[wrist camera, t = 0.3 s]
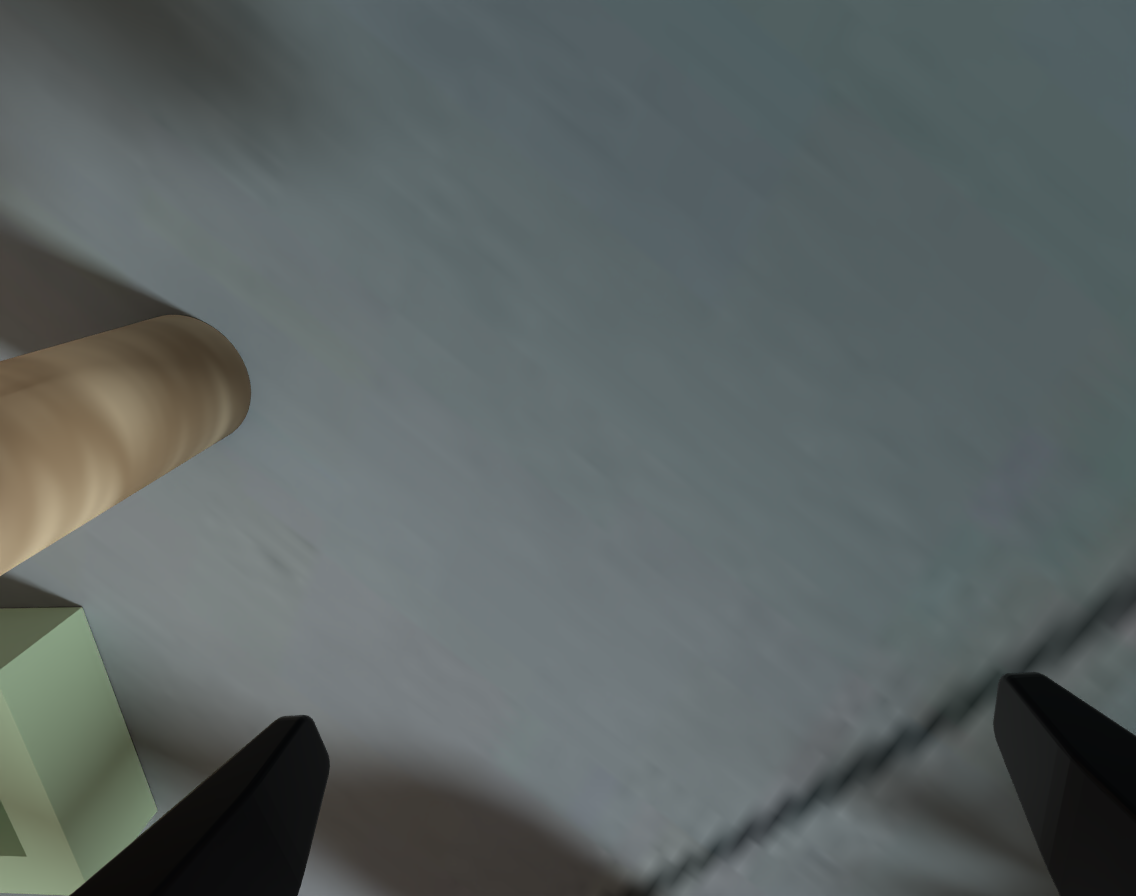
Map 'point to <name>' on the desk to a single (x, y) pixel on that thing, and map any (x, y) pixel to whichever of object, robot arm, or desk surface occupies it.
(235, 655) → the desk surface
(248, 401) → the beige ridged cylinder
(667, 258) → the desk surface
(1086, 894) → the robot arm
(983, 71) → the desk surface
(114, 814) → the pale green square holder
